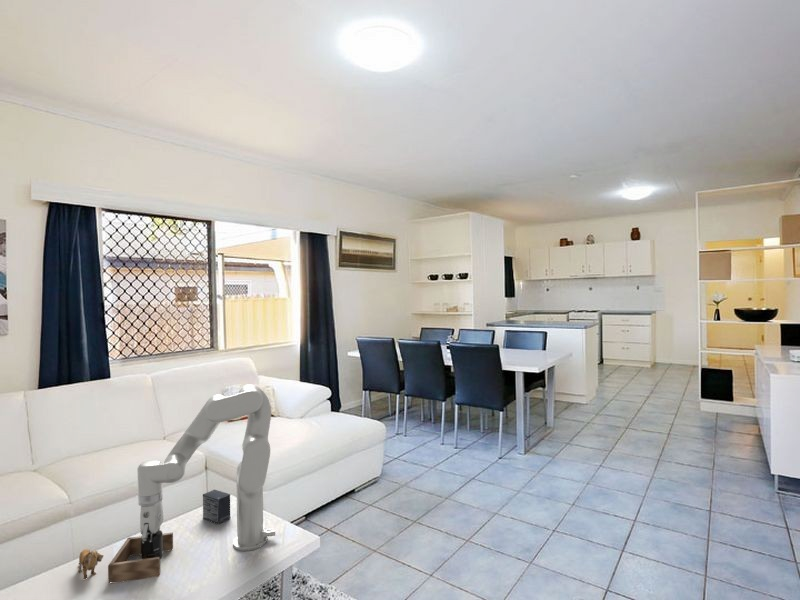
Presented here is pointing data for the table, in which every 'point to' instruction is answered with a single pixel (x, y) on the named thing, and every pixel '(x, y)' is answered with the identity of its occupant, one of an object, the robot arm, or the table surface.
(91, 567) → the lion figurine
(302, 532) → the table surface
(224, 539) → the table surface
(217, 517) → the small box
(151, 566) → the walnut u-shaped bracket
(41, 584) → the table surface
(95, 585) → the table surface
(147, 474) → the robot arm
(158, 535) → the supplement bottle
